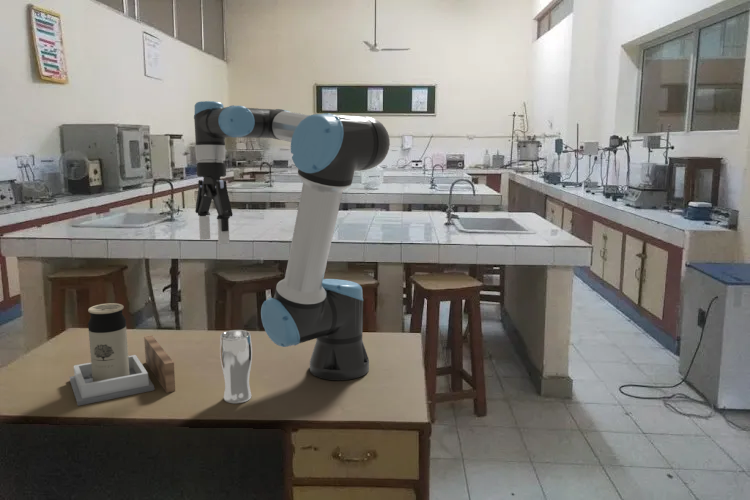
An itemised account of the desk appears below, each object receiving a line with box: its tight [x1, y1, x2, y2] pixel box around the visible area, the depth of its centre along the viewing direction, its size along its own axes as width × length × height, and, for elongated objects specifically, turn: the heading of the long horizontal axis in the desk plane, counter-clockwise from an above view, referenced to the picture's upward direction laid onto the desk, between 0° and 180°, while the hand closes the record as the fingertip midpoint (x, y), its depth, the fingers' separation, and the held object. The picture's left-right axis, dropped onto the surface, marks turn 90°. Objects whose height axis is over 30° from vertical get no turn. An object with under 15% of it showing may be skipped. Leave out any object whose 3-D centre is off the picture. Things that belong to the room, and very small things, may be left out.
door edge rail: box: [143, 335, 176, 394], centre depth 144 cm, size 22×2×7 cm, turn 33°
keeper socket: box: [69, 354, 155, 407], centre depth 139 cm, size 16×16×4 cm
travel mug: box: [87, 302, 130, 382], centre depth 137 cm, size 8×8×18 cm
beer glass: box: [219, 329, 253, 405], centre depth 132 cm, size 7×7×15 cm
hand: (214, 241), depth 159 cm, fingers open, 13 cm apart
